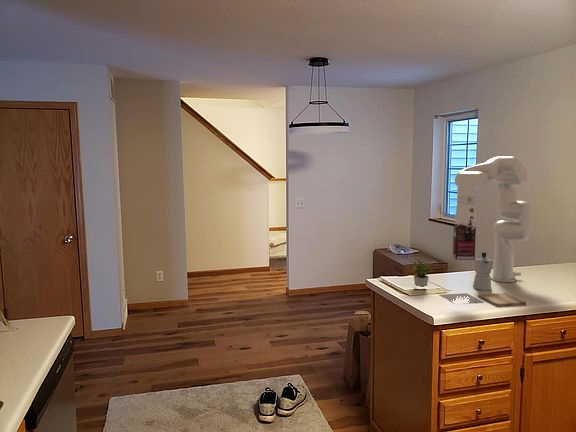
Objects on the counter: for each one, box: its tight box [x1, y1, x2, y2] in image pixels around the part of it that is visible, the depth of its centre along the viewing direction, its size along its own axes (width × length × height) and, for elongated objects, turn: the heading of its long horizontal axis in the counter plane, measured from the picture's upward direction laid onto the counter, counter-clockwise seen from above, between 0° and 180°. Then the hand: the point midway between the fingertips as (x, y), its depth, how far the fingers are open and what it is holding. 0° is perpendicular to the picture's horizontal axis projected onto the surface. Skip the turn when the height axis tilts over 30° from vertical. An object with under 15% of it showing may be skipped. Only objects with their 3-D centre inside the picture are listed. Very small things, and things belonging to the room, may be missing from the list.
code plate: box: [440, 292, 485, 304], centre depth 200 cm, size 14×14×1 cm
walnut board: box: [477, 292, 527, 308], centre depth 196 cm, size 14×14×1 cm
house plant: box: [407, 256, 436, 287], centre depth 215 cm, size 14×14×16 cm
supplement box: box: [452, 224, 477, 262], centre depth 197 cm, size 9×5×16 cm, turn 85°
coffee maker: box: [472, 252, 494, 291], centre depth 216 cm, size 15×9×18 cm, turn 168°
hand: (464, 239), depth 196 cm, fingers closed on supplement box, 5 cm apart
